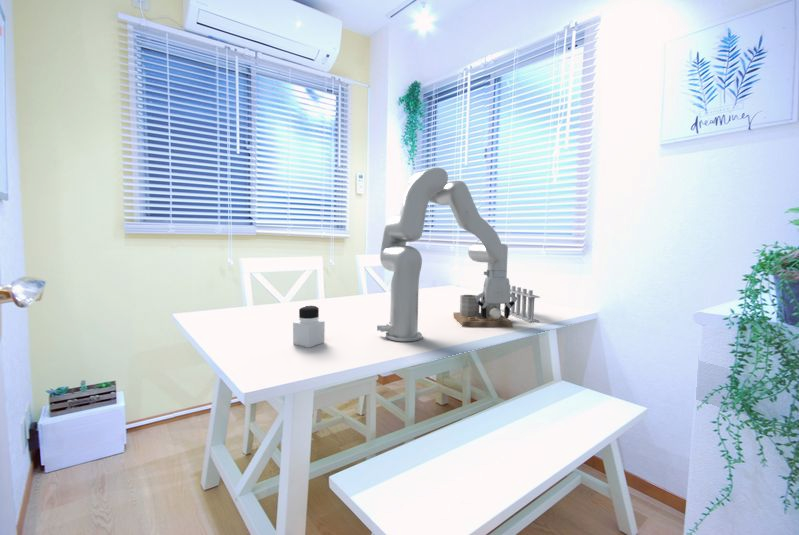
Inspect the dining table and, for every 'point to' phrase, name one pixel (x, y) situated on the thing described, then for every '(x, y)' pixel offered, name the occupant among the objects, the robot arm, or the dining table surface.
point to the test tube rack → (523, 304)
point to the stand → (478, 314)
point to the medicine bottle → (308, 327)
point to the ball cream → (495, 313)
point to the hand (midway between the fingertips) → (495, 317)
